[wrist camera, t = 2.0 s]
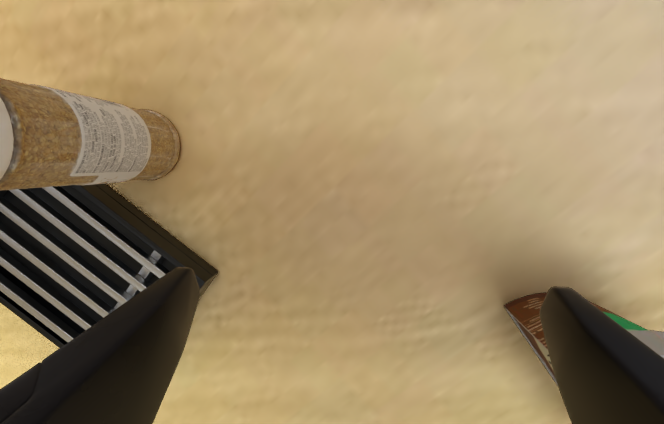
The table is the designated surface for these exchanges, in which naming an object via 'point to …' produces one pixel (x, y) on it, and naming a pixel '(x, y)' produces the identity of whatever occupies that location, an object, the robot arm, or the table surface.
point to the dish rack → (81, 256)
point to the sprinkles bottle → (78, 139)
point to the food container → (530, 326)
